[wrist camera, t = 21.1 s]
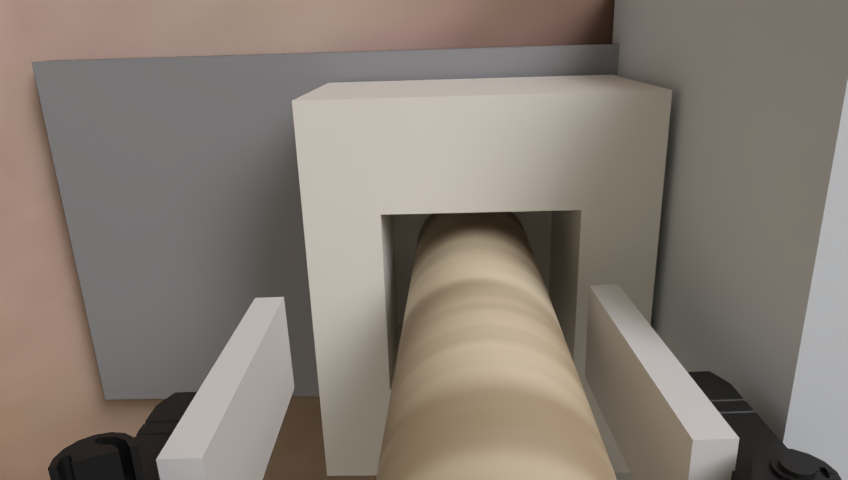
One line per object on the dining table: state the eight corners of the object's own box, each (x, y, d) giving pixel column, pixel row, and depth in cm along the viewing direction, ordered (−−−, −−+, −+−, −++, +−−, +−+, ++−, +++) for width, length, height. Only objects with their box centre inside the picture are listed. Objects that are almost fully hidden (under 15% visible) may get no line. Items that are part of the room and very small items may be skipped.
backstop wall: (633, 418, 28) (811, 768, 15) (124, 425, 29) (-146, 767, 15) (672, -18, 22) (1017, -86, 9) (35, 4, 23) (-513, -32, 10)
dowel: (526, 301, 23) (666, 808, 8) (417, 301, 23) (352, 795, 8) (529, 196, 22) (703, 555, 7) (415, 196, 22) (332, 548, 7)
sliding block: (592, 375, 26) (636, 472, 20) (350, 378, 26) (327, 476, 20) (611, 74, 22) (672, 90, 16) (328, 82, 22) (291, 100, 17)
